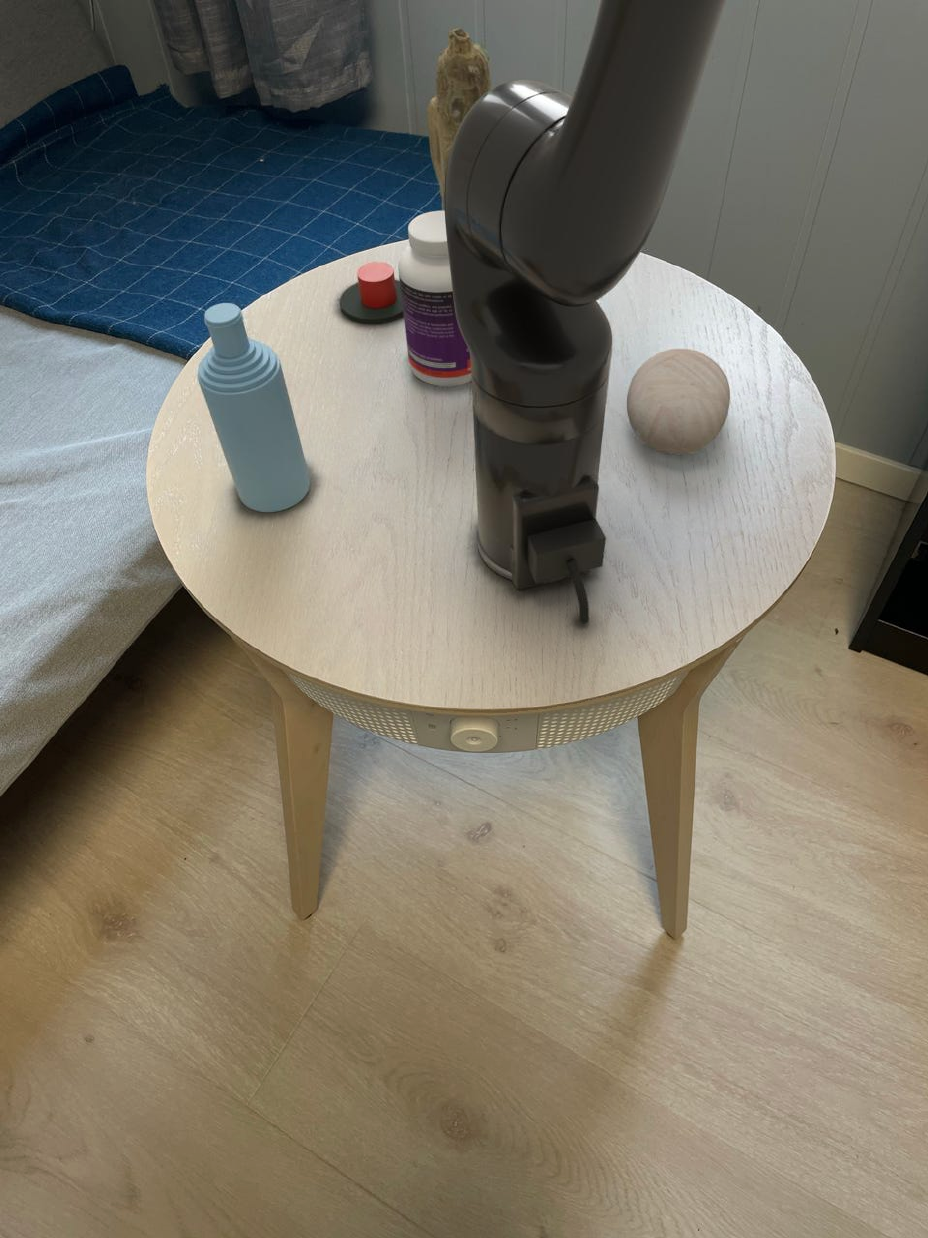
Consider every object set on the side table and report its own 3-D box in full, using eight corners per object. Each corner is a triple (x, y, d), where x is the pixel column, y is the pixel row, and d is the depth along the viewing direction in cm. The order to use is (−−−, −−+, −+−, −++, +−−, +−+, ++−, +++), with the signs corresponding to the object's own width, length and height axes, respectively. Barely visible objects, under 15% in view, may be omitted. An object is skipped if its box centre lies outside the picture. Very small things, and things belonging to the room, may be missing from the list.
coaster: (421, 315, 91) (421, 310, 90) (348, 330, 90) (347, 325, 89) (403, 276, 96) (403, 272, 95) (334, 291, 95) (333, 286, 94)
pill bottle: (481, 395, 82) (476, 253, 71) (401, 388, 83) (383, 247, 72) (496, 345, 87) (493, 205, 76) (420, 339, 88) (406, 200, 77)
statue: (505, 268, 96) (503, 6, 76) (500, 310, 91) (497, 41, 71) (444, 267, 96) (427, 8, 77) (436, 310, 91) (416, 43, 72)
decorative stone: (639, 373, 83) (646, 328, 79) (733, 388, 81) (744, 343, 77) (609, 458, 76) (615, 413, 72) (711, 478, 74) (723, 432, 70)
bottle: (316, 502, 74) (271, 327, 60) (243, 519, 73) (180, 345, 60) (304, 456, 78) (259, 281, 64) (234, 471, 77) (174, 297, 63)
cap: (380, 283, 94) (377, 257, 92) (404, 296, 92) (401, 270, 90) (353, 299, 92) (349, 272, 90) (377, 312, 91) (373, 285, 88)
